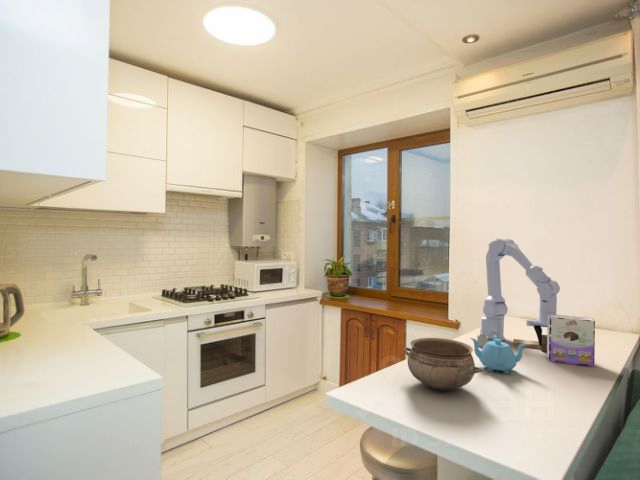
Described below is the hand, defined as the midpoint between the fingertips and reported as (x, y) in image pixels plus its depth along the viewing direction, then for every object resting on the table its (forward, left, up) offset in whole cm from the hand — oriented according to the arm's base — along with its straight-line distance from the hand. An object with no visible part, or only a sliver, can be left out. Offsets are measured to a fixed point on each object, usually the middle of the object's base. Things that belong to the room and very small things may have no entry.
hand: (546, 345), depth 148 cm
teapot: (-20, -31, -2) cm, 37 cm away
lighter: (-22, -5, -2) cm, 23 cm away
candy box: (+5, -12, -2) cm, 13 cm away
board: (-3, +5, -2) cm, 6 cm away
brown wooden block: (0, +3, -2) cm, 3 cm away
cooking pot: (-37, -55, -2) cm, 66 cm away
